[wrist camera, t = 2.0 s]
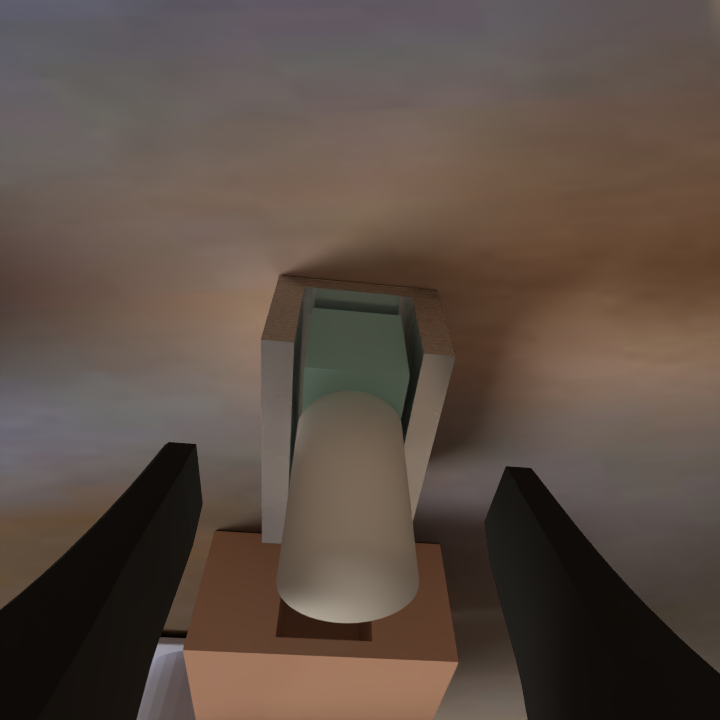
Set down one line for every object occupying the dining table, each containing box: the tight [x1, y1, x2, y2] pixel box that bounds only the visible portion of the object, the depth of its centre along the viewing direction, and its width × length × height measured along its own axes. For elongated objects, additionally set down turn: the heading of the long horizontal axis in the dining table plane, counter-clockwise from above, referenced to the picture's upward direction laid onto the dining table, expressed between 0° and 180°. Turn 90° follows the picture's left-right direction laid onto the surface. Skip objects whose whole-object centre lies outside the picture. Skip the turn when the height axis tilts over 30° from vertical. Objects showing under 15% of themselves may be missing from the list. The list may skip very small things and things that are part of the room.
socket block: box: [183, 531, 459, 720], centre depth 22 cm, size 6×10×5 cm, turn 84°
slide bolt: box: [276, 308, 419, 623], centre depth 14 cm, size 8×3×7 cm, turn 174°
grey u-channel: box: [261, 275, 456, 544], centre depth 16 cm, size 8×5×4 cm, turn 174°
